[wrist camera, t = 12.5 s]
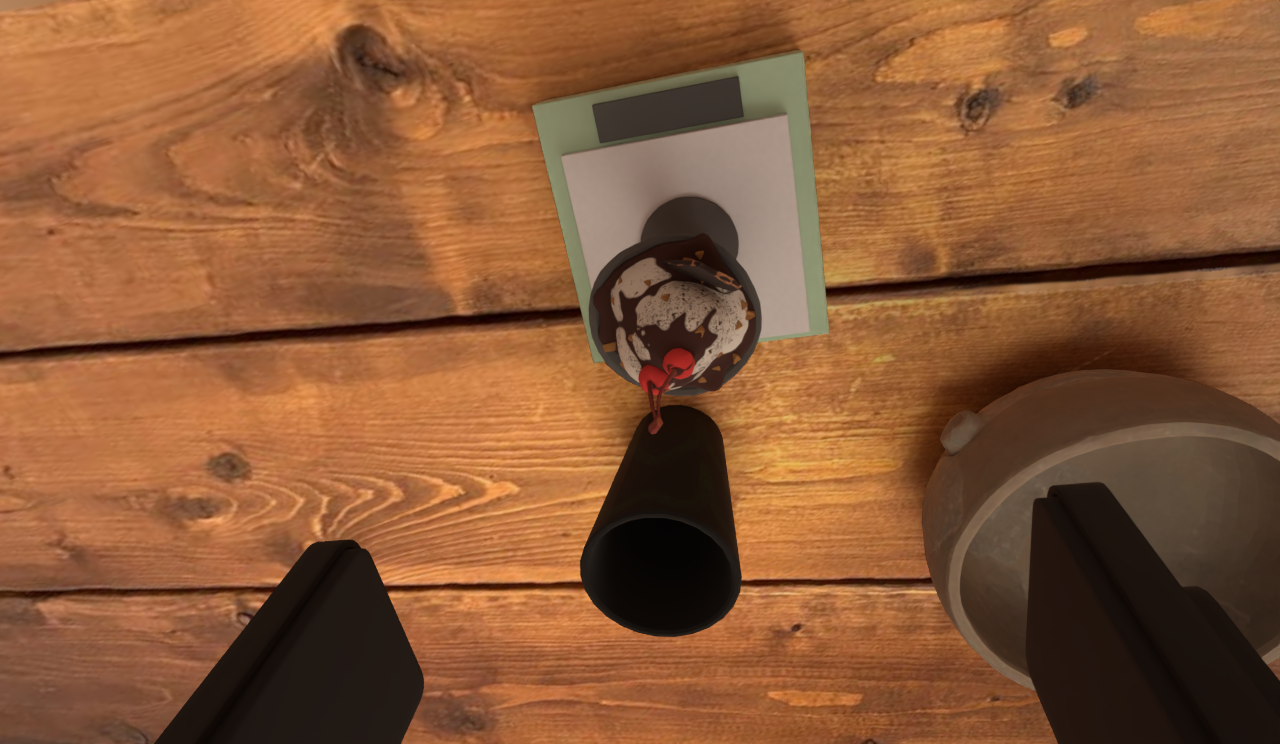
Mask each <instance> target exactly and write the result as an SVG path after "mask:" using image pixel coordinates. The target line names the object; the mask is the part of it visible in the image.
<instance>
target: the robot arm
mask: <svg viewBox="0 0 1280 744" xmlns="http://www.w3.org/2000/svg"><path fill="white" fill-rule="evenodd" d="M1025 650H1026V661H1027V666H1028V671H1029V674H1030V677H1031V680H1032V683H1033V685H1034V687H1035V690H1036V692H1037V695H1038V697H1039V699H1040V702H1041V704H1042V706H1043V709H1044V711H1045V713H1046V716H1047V718H1048V721H1049V723H1050V725H1051V728H1052V730H1053V732H1054V735H1055V737H1056V739H1057V742H1058V744H1280V681H1279V680H1278V678H1277V677H1276V676H1275V675H1274V673H1273V672H1272V671H1271V669H1270V668H1269V667H1268V666H1267V664H1266V663H1265V662H1264V660H1263V659H1262V658H1261V657H1260V655H1259V654H1258V653H1257V652H1256V650H1255V649H1254V648H1253V646H1252V645H1251V644H1250V643H1249V641H1248V640H1247V639H1246V638H1245V636H1244V635H1243V634H1242V632H1241V631H1240V630H1239V629H1238V627H1237V626H1236V625H1235V624H1234V622H1233V621H1232V620H1231V618H1230V617H1229V616H1228V615H1227V613H1226V612H1225V611H1224V609H1223V608H1222V607H1221V606H1220V604H1219V603H1218V602H1217V601H1216V600H1215V599H1214V598H1213V597H1212V596H1211V595H1210V594H1209V593H1208V592H1207V591H1206V590H1204V589H1202V588H1200V587H1198V586H1188V587H1182V586H1181V585H1180V584H1179V582H1178V581H1177V580H1176V578H1175V577H1174V576H1173V574H1172V573H1171V572H1170V570H1169V569H1168V567H1167V566H1166V565H1165V563H1164V562H1163V561H1162V559H1161V558H1160V557H1159V555H1158V554H1157V553H1156V551H1155V550H1154V549H1153V547H1152V546H1151V545H1150V543H1149V542H1148V541H1147V539H1146V538H1145V537H1144V535H1143V534H1142V533H1141V531H1140V530H1139V529H1138V527H1137V526H1136V524H1135V523H1134V522H1133V520H1132V519H1131V518H1130V516H1129V515H1128V514H1127V512H1126V511H1125V510H1124V508H1123V507H1122V506H1121V504H1120V503H1119V502H1118V500H1117V499H1116V498H1115V496H1114V495H1113V494H1112V492H1111V491H1110V490H1109V488H1108V487H1107V486H1106V485H1105V484H1104V483H1101V482H1090V483H1077V484H1064V485H1053V486H1051V487H1050V488H1049V490H1048V493H1047V497H1046V498H1036V499H1035V500H1034V502H1033V509H1032V529H1031V549H1030V568H1029V588H1028V608H1027V628H1026V648H1025ZM423 689H424V678H423V674H422V671H421V668H420V666H419V664H418V662H417V659H416V657H415V655H414V652H413V650H412V648H411V646H410V643H409V641H408V639H407V637H406V634H405V632H404V630H403V627H402V625H401V623H400V621H399V618H398V616H397V614H396V611H395V609H394V607H393V605H392V602H391V600H390V598H389V596H388V593H387V591H386V589H385V586H384V584H383V582H382V580H381V577H380V575H379V573H378V571H377V568H376V566H375V564H374V561H373V559H372V557H371V555H370V553H369V552H368V551H367V550H366V549H363V548H361V547H360V546H359V544H358V543H357V542H355V541H354V540H337V541H324V542H316V543H313V544H312V545H310V546H309V547H308V548H307V549H306V551H305V552H304V553H303V554H302V556H301V557H300V558H299V560H298V561H297V562H296V563H295V565H294V566H293V567H292V568H291V570H290V571H289V572H288V574H287V575H286V576H285V577H284V579H283V580H282V581H281V582H280V584H279V585H278V586H277V588H276V589H275V590H274V591H273V593H272V594H271V595H270V597H269V598H268V599H267V600H266V602H265V603H264V604H263V605H262V607H261V608H260V609H259V611H258V612H257V613H256V614H255V616H254V617H253V618H252V619H251V621H250V622H249V623H248V625H247V626H246V627H245V628H244V630H243V631H242V632H241V633H240V635H239V636H238V637H237V639H236V640H235V641H234V642H233V644H232V645H231V646H230V647H229V649H228V650H227V651H226V653H225V654H224V655H223V656H222V658H221V659H220V660H219V661H218V663H217V664H216V665H215V667H214V668H213V669H212V670H211V672H210V673H209V674H208V676H207V677H206V678H205V679H204V681H203V682H202V683H201V684H200V686H199V687H198V688H197V690H196V691H195V692H194V693H193V695H192V696H191V697H190V698H189V700H188V701H187V702H186V704H185V705H184V706H183V707H182V709H181V710H180V711H179V712H178V714H177V715H176V716H175V718H174V719H173V720H172V721H171V723H170V724H169V725H168V726H167V728H166V729H165V730H164V732H163V733H162V734H161V735H160V737H159V738H158V739H157V741H156V742H155V743H154V744H401V742H402V740H403V738H404V735H405V733H406V731H407V729H408V727H409V725H410V722H411V720H412V718H413V716H414V714H415V711H416V709H417V707H418V705H419V703H420V700H421V697H422V694H423Z"/></svg>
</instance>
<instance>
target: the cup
mask: <svg viewBox="0 0 1280 744" xmlns="http://www.w3.org/2000/svg"><path fill="white" fill-rule="evenodd" d="M655 412H656V415H657V409H656V410H655ZM660 414H661V419H662V421H663V424H662V426H661V427H660V429H659V430H658V431H657V433H656V434H651V433H650V432H649V430H648V427H649V425H650V424H651V423H652V422H653V420H654V417H653V414H652V412H651V413H649V414H648V415H647V416H646V417H644V418H643V419H642V421H641V422H640V424H639V425H638V427H637V428H636V431H635V433H634V435H633V437H632V440H631V442H630V444H629V447H628V449H627V451H626V453H625V456H624V458H623V460H622V462H621V465H620V467H619V469H618V472H617V474H616V476H615V478H614V481H613V483H612V485H611V487H610V490H609V492H608V494H607V497H606V499H605V501H604V503H603V506H602V508H601V510H600V512H599V515H598V517H597V519H596V522H595V524H594V526H593V528H592V531H591V533H590V535H589V538H588V540H587V542H586V544H585V547H584V550H583V553H582V557H581V560H580V576H581V579H582V582H583V585H584V588H585V591H586V592H587V594H588V596H589V597H590V599H591V600H592V602H593V603H594V605H595V606H596V607H597V608H598V609H599V610H601V611H602V612H603V613H604V614H605V615H606V616H607V617H609V618H610V619H612V620H613V621H615V622H616V623H618V624H619V625H621V626H623V627H626V628H628V629H631V630H633V631H636V632H638V633H642V634H647V635H652V636H662V637H676V636H682V635H688V634H694V633H696V632H699V631H701V630H704V629H707V628H709V627H711V626H712V625H714V624H715V623H717V622H718V621H720V620H721V619H723V618H724V617H725V615H726V614H727V613H728V612H729V611H730V610H731V609H732V607H733V606H734V604H735V602H736V600H737V598H738V595H739V593H740V587H741V578H742V576H741V569H740V561H739V554H738V547H737V539H736V532H735V525H734V518H733V510H732V503H731V496H730V488H729V481H728V474H727V467H726V459H725V452H724V445H723V439H722V434H721V432H720V430H719V428H718V426H717V425H716V424H715V423H714V422H713V420H712V419H711V418H710V417H708V416H707V415H705V414H704V413H703V412H701V411H699V410H696V409H694V408H692V407H686V406H681V405H675V406H666V407H662V408H660Z"/></svg>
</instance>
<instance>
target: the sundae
mask: <svg viewBox="0 0 1280 744" xmlns="http://www.w3.org/2000/svg"><path fill="white" fill-rule="evenodd" d="M738 249H739V241H738V233H737V230H736V228H735V225H734V223H733V221H732V219H731V218H730V216H729V215H728V214H727V213H726V212H725V211H724V210H723V209H722V208H721V207H719V206H718V205H717V204H716V203H713V202H711V201H709V200H706V199H703V198H700V197H679V198H675V199H673V200H670V201H668V202H666V203H664V204H662V205H661V206H659V207H658V208H657V209H656V210H655V211H654V212H653V213H652V214H651V216H650V217H649V218H648V219H647V221H646V224H645V226H644V228H643V232H642V235H641V242H639V243H637V244H634V245H633V246H631V247H629V248H627V249H625V250H623V251H621V252H620V253H618V254H617V255H616V256H615V257H614V258H613V259H612V260H610V261H609V262H608V263H607V264H606V265H605V267H604V268H603V269H602V270H601V271H600V273H599V275H598V276H597V278H596V280H595V282H594V285H593V288H592V291H591V295H590V301H589V323H590V329H591V335H592V339H593V341H594V343H595V345H596V347H597V350H598V352H599V353H600V355H601V356H602V358H603V359H604V361H605V362H606V364H607V365H608V366H609V367H610V368H611V369H612V370H614V371H615V372H616V373H617V374H618V375H620V376H621V377H623V378H624V379H626V380H627V381H629V382H631V383H633V384H635V385H638V386H640V387H642V389H643V390H644V391H645V392H647V393H648V396H649V402H650V407H651V411H652V414H653V417H654V420H653V422H652V423H651V424H650V425H649V427H648V430H649V432H650V433H651V434H656V433H657V431H658V430H659V429H660V427H661V426H662V424H663V421H662V419H661V414H660V398H661V395H662V394H665V395H673V396H695V395H698V394H702V393H705V392H708V391H717V390H719V389H720V388H721V387H722V385H724V384H725V383H726V382H727V381H729V380H730V379H731V378H732V377H733V376H735V375H736V374H737V373H738V372H739V371H740V370H741V369H742V368H743V366H744V365H745V364H746V363H747V361H748V360H749V358H750V357H751V355H752V353H753V352H754V349H755V347H756V345H757V343H758V340H759V337H760V333H761V330H762V314H761V304H760V300H759V297H758V295H757V292H756V290H755V287H754V285H753V283H752V281H751V279H750V277H749V276H748V274H747V272H746V271H745V269H744V268H743V267H742V266H741V265H740V263H739V262H738V261H737V260H736V258H737V256H738ZM653 395H658V397H657V415H656V412H655V408H654V403H653Z"/></svg>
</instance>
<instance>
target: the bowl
mask: <svg viewBox="0 0 1280 744" xmlns="http://www.w3.org/2000/svg"><path fill="white" fill-rule="evenodd" d="M940 442H941V443H942V444H943V446H944V447H945V449H946V450H945V451H944V453H943V454H942V456H941V457H940V459H939V461H938V463H937V465H936V467H935V469H934V471H933V473H932V476H931V478H930V479H929V481H928V483H927V485H926V487H925V494H924V500H923V512H922V527H923V535H924V547H925V555H926V560H927V564H928V568H929V571H930V575H931V579H932V582H933V584H934V587H935V589H936V592H937V594H938V596H939V599H940V601H941V603H942V605H943V607H944V609H945V611H946V613H947V614H948V616H949V617H950V619H951V620H952V622H953V623H954V625H955V626H956V628H957V629H958V631H959V632H960V634H961V635H962V637H963V638H964V639H965V640H966V641H967V643H968V644H969V645H970V646H971V647H972V648H973V649H974V650H975V651H976V652H977V653H978V654H979V655H980V656H981V657H982V658H983V659H984V660H985V661H986V662H987V663H989V664H990V665H991V666H992V667H993V668H994V669H996V670H997V671H999V672H1000V673H1001V674H1003V675H1004V676H1006V677H1008V678H1009V679H1011V680H1013V681H1015V682H1017V683H1019V684H1021V685H1023V686H1025V687H1027V688H1030V689H1032V690H1035V687H1034V685H1033V683H1032V680H1031V677H1030V674H1029V671H1028V666H1027V661H1026V650H1025V648H1026V628H1027V608H1028V588H1029V568H1030V549H1031V529H1032V509H1033V502H1034V500H1035V499H1036V498H1046V497H1047V493H1048V490H1049V488H1050V487H1051V486H1053V485H1064V484H1077V483H1090V482H1101V483H1104V484H1105V485H1106V486H1107V487H1108V488H1109V490H1110V491H1111V492H1112V494H1113V495H1114V496H1115V498H1116V499H1117V500H1118V502H1119V503H1120V504H1121V506H1122V507H1123V508H1124V510H1125V511H1126V512H1127V514H1128V515H1129V516H1130V518H1131V519H1132V520H1133V522H1134V523H1135V524H1136V526H1137V527H1138V529H1139V530H1140V531H1141V533H1142V534H1143V535H1144V537H1145V538H1146V539H1147V541H1148V542H1149V543H1150V545H1151V546H1152V547H1153V549H1154V550H1155V551H1156V553H1157V554H1158V555H1159V557H1160V558H1161V559H1162V561H1163V562H1164V563H1165V565H1166V566H1167V567H1168V569H1169V570H1170V572H1171V573H1172V574H1173V576H1174V577H1175V578H1176V580H1177V581H1178V582H1179V584H1180V585H1181V586H1182V587H1188V586H1198V587H1200V588H1202V589H1204V590H1206V591H1207V592H1208V593H1209V594H1210V595H1211V596H1212V597H1213V598H1214V599H1215V600H1216V601H1217V602H1218V603H1219V604H1220V606H1221V607H1222V608H1223V609H1224V611H1225V612H1226V613H1227V615H1228V616H1229V617H1230V618H1231V620H1232V621H1233V622H1234V624H1235V625H1236V626H1237V627H1238V629H1239V630H1240V631H1241V632H1242V634H1243V635H1244V636H1245V638H1246V639H1247V640H1248V641H1249V643H1250V644H1251V645H1252V646H1253V648H1254V649H1255V650H1256V652H1257V653H1258V654H1259V655H1260V657H1261V658H1262V659H1263V660H1264V662H1265V663H1266V664H1268V663H1270V662H1272V661H1273V660H1275V659H1277V658H1278V657H1280V424H1279V423H1277V422H1276V421H1275V420H1273V419H1272V418H1270V417H1269V416H1267V415H1266V414H1264V413H1263V412H1261V411H1260V410H1258V409H1256V408H1255V407H1253V406H1252V405H1250V404H1248V403H1246V402H1244V401H1242V400H1240V399H1238V398H1236V397H1233V396H1231V395H1229V394H1226V393H1224V392H1222V391H1220V390H1217V389H1214V388H1212V387H1209V386H1206V385H1203V384H1200V383H1197V382H1193V381H1189V380H1185V379H1181V378H1177V377H1172V376H1167V375H1162V374H1153V373H1145V372H1136V371H1128V370H1113V369H1093V370H1079V371H1071V372H1066V373H1062V374H1057V375H1053V376H1049V377H1045V378H1042V379H1039V380H1036V381H1034V382H1031V383H1028V384H1026V385H1023V386H1020V387H1018V388H1016V389H1015V390H1013V391H1012V392H1010V393H1008V394H1006V395H1004V396H1002V397H1000V398H998V399H996V400H994V401H993V402H992V403H990V404H989V405H987V406H986V407H984V408H983V409H982V410H980V411H979V412H978V413H977V414H975V413H973V412H972V411H960V412H958V413H957V414H956V415H954V416H953V417H952V418H951V419H950V420H949V422H948V423H947V425H946V426H945V428H944V429H943V431H942V434H941V437H940ZM1035 691H1036V690H1035Z"/></svg>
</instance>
